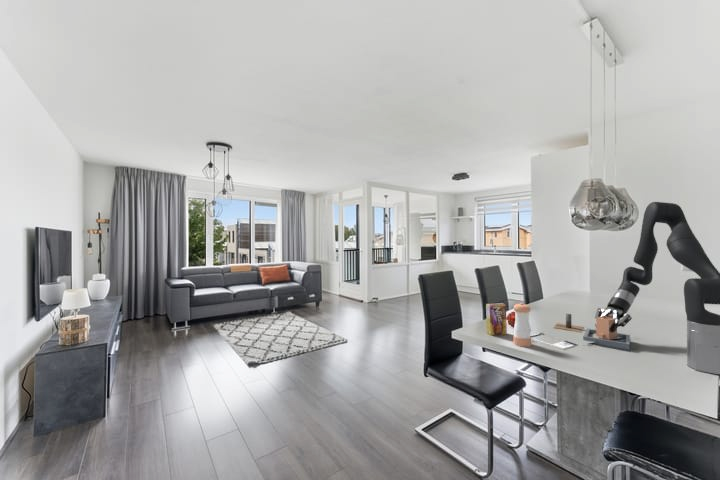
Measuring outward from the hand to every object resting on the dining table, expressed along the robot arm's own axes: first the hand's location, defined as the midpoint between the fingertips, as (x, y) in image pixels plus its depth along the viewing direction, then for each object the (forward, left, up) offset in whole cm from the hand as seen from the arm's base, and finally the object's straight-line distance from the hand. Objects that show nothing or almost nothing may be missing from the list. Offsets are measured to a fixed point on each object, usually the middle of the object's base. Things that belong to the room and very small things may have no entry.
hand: (603, 329), depth 141 cm
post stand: (+11, +15, -6) cm, 20 cm away
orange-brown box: (+2, -1, -4) cm, 4 cm away
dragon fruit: (+2, +38, -6) cm, 39 cm away
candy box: (-18, +42, -6) cm, 46 cm away
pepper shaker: (-26, +28, -6) cm, 38 cm away
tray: (+1, -1, -6) cm, 6 cm away
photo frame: (-11, +18, -7) cm, 23 cm away
